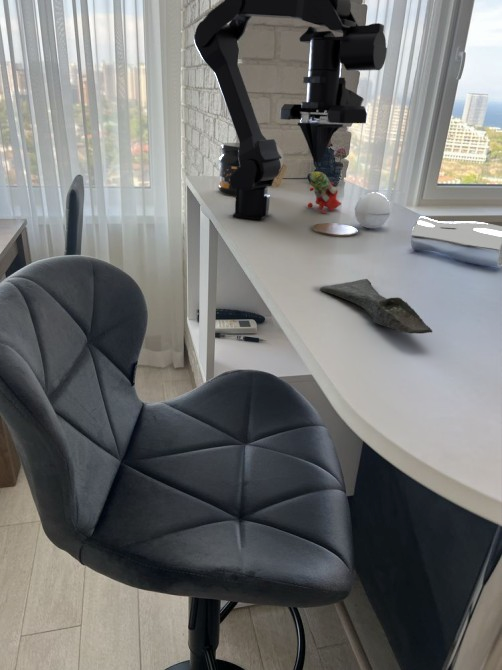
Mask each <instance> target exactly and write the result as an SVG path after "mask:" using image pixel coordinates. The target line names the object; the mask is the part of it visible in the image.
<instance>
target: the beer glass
mask: <svg viewBox="0 0 502 670" xmlns="http://www.w3.org/2000/svg"><path fill="white" fill-rule="evenodd" d="M410 235H411V236H410V247H411V249H412V250H413V251H427V252H435V253H438V254H441V255H444V256H447V257H449V258H452V259H455V260H457V261H461V262H464V263H467V264H472V265H477V266H484V267H485V266H486V267H493V268H494V267H495V268H501V267H502V225H498V224H492V223H487V222H480V221H438V220H435V219H431V218H429V217H426V216H420V217H418V218H417V220H415V224H414V225H413V227H412V231H411V234H410Z"/></svg>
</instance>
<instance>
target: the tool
mask: <svg viewBox="0 0 502 670" xmlns="http://www.w3.org/2000/svg"><path fill="white" fill-rule="evenodd" d="M319 291H322V292H324V293H328V294H330V295H334V296H336V297H339V298H341V299H344V300H346V301H349V302H351V303H353V304H355V305H357V306H359V307H361V308H362V309H364V310H365V311H366V313H367V314H368V315H370V319H371V320H372V321H373V323H374V324H378V325H379V326H384V327H385V328H389V329H391V330H393V331H398V332H400V333H406V334H421V335H422V334H428V333H433V329H432V328H431V327H429V326H428V325H427V324H426V323H425V322H424V320H423V319H422V318H421V317H420V315H419V314H418V312H416V311H415V309H414V308H412V306H411V305H409V304H408V302H407V301H406V300H404V299H403V298H401V297H388V298H386V297H385V296H383V295H381V294H379V292H378V291H377V290H376V289H375V288H374V287H373V285H372V282H371V281H370V279H368V278H362V279H358V280H354V281H348V282H341V283H337V284H331V285H324V286H322V287H320V288H319Z"/></svg>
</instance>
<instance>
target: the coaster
mask: <svg viewBox="0 0 502 670" xmlns="http://www.w3.org/2000/svg"><path fill="white" fill-rule="evenodd" d="M312 230H313V232H315V233H317V234H320V235H325V236H329V237H340V238H341V237H353V236H356V235H357V234H358V229H357V228H355V227H353V226H351V225H347V224H342V223H330V222H324V223H323V222H322V223H317V224H314V225H313V227H312Z"/></svg>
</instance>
